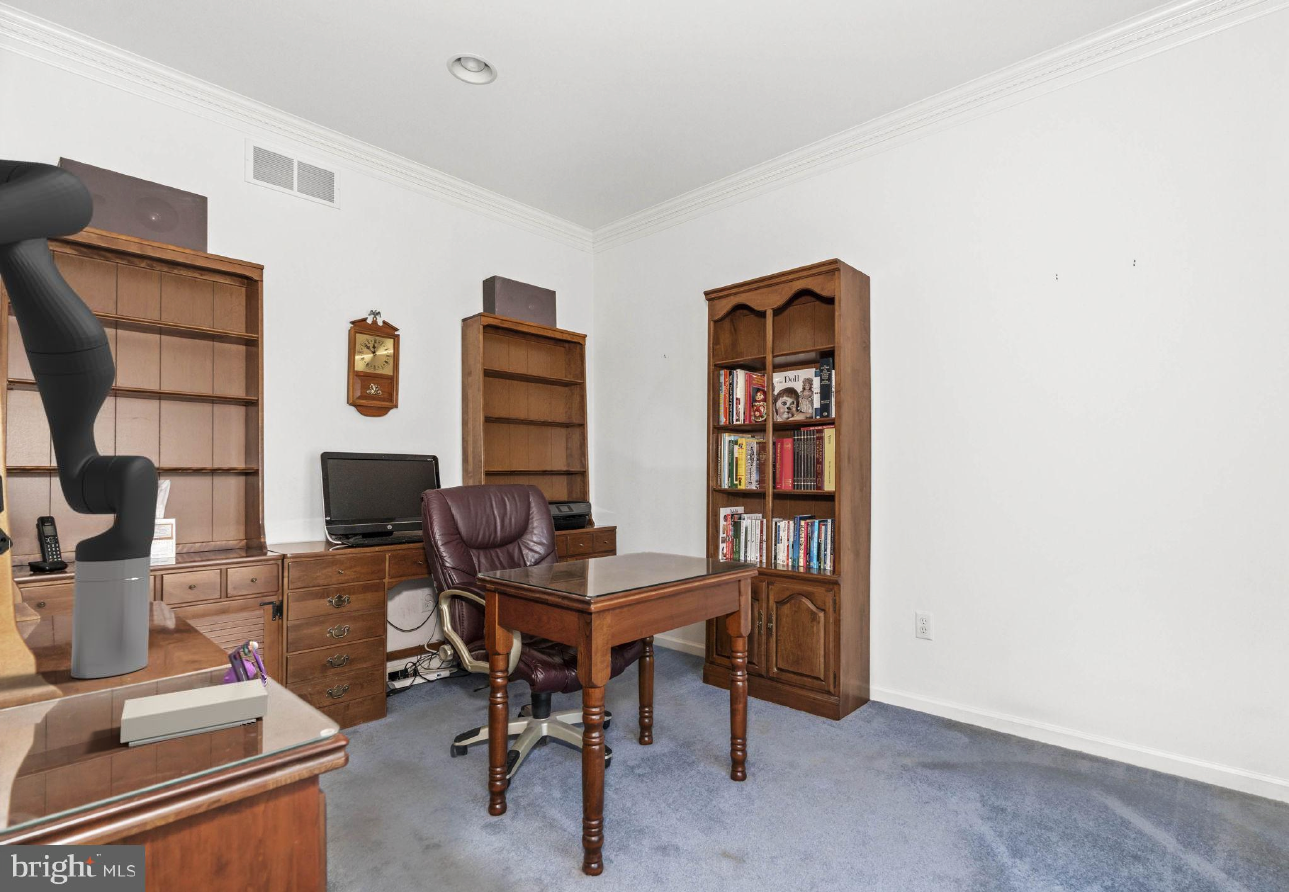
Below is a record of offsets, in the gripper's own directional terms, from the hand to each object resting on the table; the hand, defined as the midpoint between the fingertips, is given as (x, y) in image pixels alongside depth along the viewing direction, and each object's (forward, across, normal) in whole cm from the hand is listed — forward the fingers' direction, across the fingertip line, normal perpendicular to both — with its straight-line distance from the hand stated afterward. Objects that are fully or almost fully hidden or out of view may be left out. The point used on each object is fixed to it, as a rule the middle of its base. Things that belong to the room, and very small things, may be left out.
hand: (1, 551), depth 77 cm
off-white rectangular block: (+19, -11, +11) cm, 24 cm away
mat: (+23, -16, +9) cm, 30 cm away
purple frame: (+29, -13, 0) cm, 32 cm away
